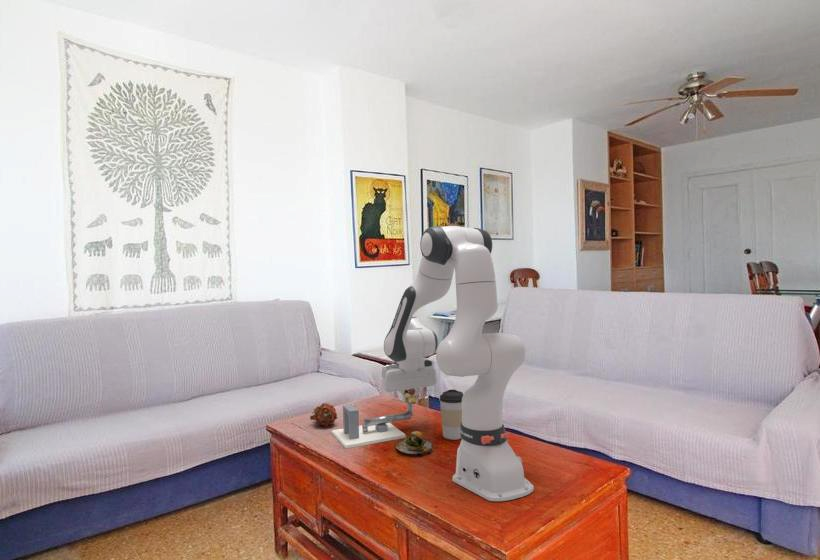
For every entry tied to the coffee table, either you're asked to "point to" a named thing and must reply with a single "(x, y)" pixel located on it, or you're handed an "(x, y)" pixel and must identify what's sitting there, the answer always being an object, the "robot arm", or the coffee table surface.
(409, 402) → the hook
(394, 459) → the coffee table surface
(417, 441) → the burger
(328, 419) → the dragon fruit
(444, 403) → the coffee cup
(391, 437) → the board
